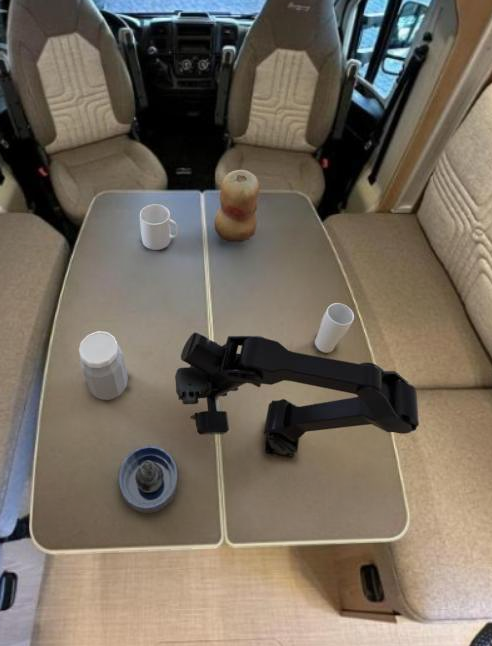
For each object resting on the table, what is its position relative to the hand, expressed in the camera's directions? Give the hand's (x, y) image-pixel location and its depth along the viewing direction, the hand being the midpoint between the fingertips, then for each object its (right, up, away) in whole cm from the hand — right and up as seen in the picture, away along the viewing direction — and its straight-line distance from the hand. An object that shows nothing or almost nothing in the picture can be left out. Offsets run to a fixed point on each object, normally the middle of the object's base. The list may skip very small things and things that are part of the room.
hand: (190, 396), depth 91 cm
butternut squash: (+14, +40, +48) cm, 64 cm away
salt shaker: (-9, -18, -2) cm, 20 cm away
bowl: (-9, -18, -1) cm, 20 cm away
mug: (-10, +38, +46) cm, 61 cm away
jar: (-21, -1, +13) cm, 25 cm away
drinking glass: (+37, +7, +22) cm, 43 cm away
